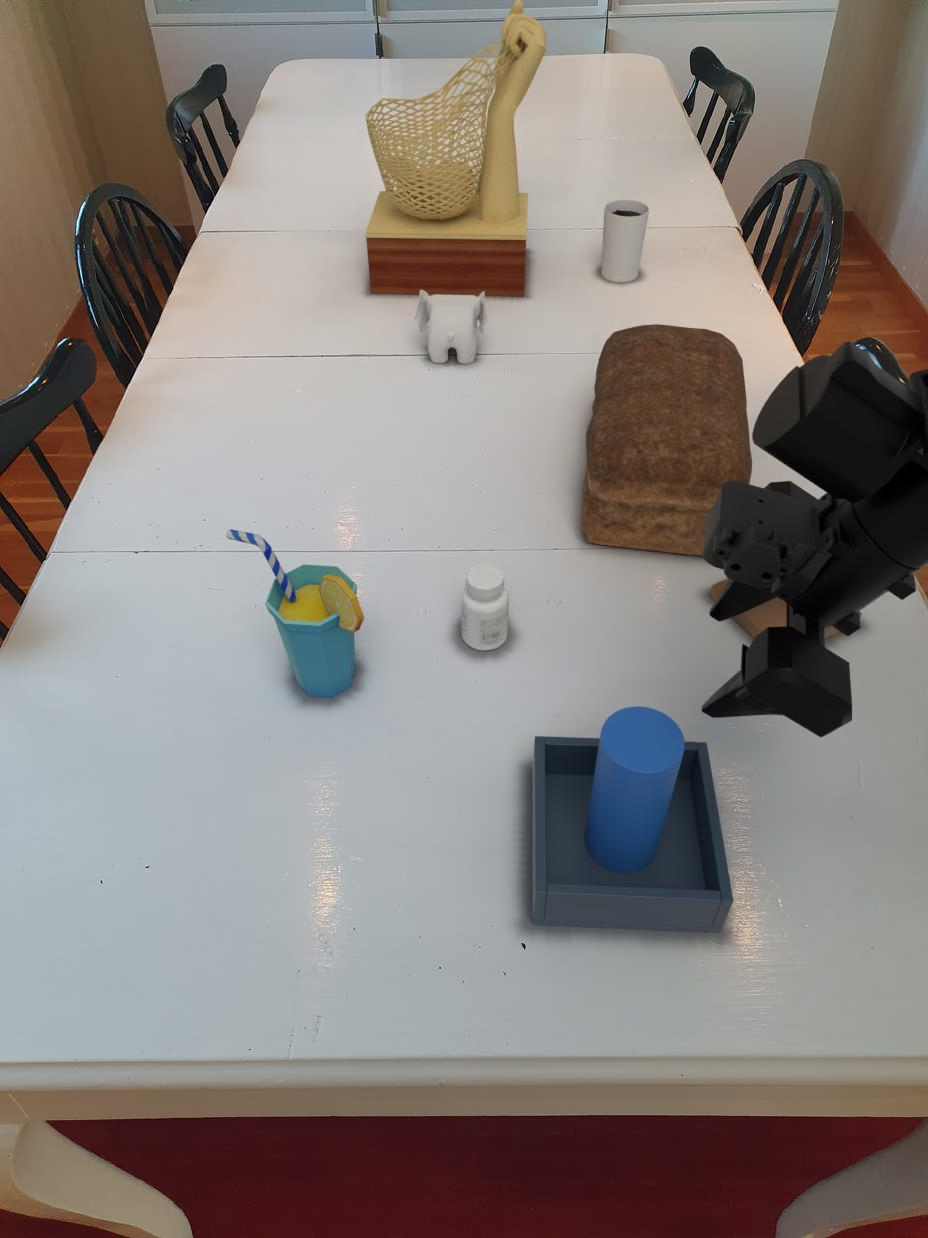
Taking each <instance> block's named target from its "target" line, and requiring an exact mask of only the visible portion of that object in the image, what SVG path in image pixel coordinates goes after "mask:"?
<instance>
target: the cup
mask: <svg viewBox="0 0 928 1238" xmlns="http://www.w3.org/2000/svg"><path fill="white" fill-rule="evenodd" d="M225 534H226V538H227V539H229V540H230V541H231V540H233V541H235V542H241V543H245V544H250V545H254V546H256V547H257V548H259V550H261V552H262V554H263V556H264V558H265V559H266V561H267V564H268V565H269V567H270V569H271V571H272V573H273V575H274V576H275V578H274V579H273V581H272V584H271V587H270V590H269V593H268V595H267V597H266V601H265V603H264V605H265V606H266V610H267V612H268V613H269V614H270V615H271V616H272V617H273V619H274V621H275V624H276V627H277V631H278V633H279V636H280V638H281V641H282V644H283V648H284V649H285V650H284V651H285V653H286V655H287V658H288V660H289V663H290V666H291V668H292V669H291V670H292V671H293V675H294V677H295V681H296V683H297V684H298V686H300V687H301V689H302V690H303V691H304V692H305V693H306V694H307V695H308V697H312V698H313V697H315V698H328V699H332V698H334V697H336V696H338V695H340V694H341V693H342V692H345V691H346V690H348V689H350V688H351V687H352V683H353V679H354V675H355V671H356V665H355V663H356V661H355V660H356V659H355V658H356V657H355V655H356V654H355V633H357V632H358V631H359V630H360V629H361V627H362V625H363V622H364V619H365V616H364V613H363V610H362V607H361V604H360V601H359V598H358V596H357V595H358V594H357V593H358V584H357V583H356V581H353V579H351V577H349V576H348V575H347V574H346V573H345V572H344V571H343V570H342V569H341V568H340V567H339V566H335V565H321V564H319V565H317V564H302V565H299V566H298V567H296V568H294V569H291V570H290V571H288V572H286V573H285V571H284V569H283V567H282V565H281V563H280V561H279V559H278V557H277V556H276V554H275V552H274V550H273V548H272V546H271V545H270V544H269V543H268V541H267V540H266V539H265V538H263V536H261V535H260V534H257V533H254V532H253V533H252V532H246V531H242V530H237V529H231V528H230V529H227V531H226V533H225Z"/></svg>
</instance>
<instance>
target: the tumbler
mask: <svg viewBox="0 0 928 1238" xmlns="http://www.w3.org/2000/svg"><path fill="white" fill-rule="evenodd" d="M599 738H600V741H599V747H598V753H597V760H596V766H595V772H594V779H593V785H592V791H591V797H590V804H589V810H588V816H587V823H586V829H585V845H586V848H587V850H588V852H589V854H590V855H591V857H592V858H593V859H594V860H595V861H596V862H597V863H598V864H599V865H601V866H602V867H604V868H606V869H608V870H610V871H613V872H618V873H632V872H636V871H639V870H641V869H643V868H645V867H646V866H648V865H649V864H650V863H651V862H652V860H653V859H654V857H655V855H656V852H657V849H658V845H659V841H660V838H661V834H662V830H663V827H664V823H665V819H666V815H667V812H668V808H669V804H670V801H671V797H672V793H673V790H674V786H675V782H676V779H677V775H678V771H679V768H680V764H681V760H682V757H683V753H684V748H685V741H686V740H685V736H684V734H683V732H682V730H681V728H680V726H679V725H678V723H677V722H676V721H675V720H674V719H672V718H671V717H670V716H669V715H667V714H665V713H664V712H662V711H660V710H658V709H654V708H652V707H647V706H628V707H624V708H621V709H618V710H616V711H615V712H613V713H612V714H610V715H609V716H608V717H607V718H606V720H605V721H604V723H603V724H602V727H601V730H600V735H599Z"/></svg>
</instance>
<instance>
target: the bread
mask: <svg viewBox="0 0 928 1238" xmlns="http://www.w3.org/2000/svg"><path fill="white" fill-rule="evenodd" d="M599 355H600V356H599V358H598V362H597V365H596V371H595V380H594V386H593V389H594V390H593V391H594V399H593V403H592V405H591V408H592V416H591V418H590V420H589V424H588V426H587V430H586V432H585V445H586V447H585V448H586V450H585V451H586V466H585V471H584V473H585V474H584V478H583V482H582V494H581V495H582V496H581V519H580V527H581V530H582V531H583V533H584V534H585V536H586V540H587V543H590V544H596V545H600V546H601V545H602V546H609V547H618V548H628V549H636V550H637V549H638V550H646V551H655V552H663V553H671V554H678V555H689V556H703V555H702V549H703V545H704V537H705V522H706V520H707V518H708V515H709V513H710V511H711V509H712V507H713V505H714V503H715V500H716V498H717V496H718V494H719V492H720V490H721V488H722V485H723V484H724V483H725V482H727V481H739V482H743V483H746V484H750V483H751V478H752V472H753V458H752V457H753V456H752V452H751V451H752V450H751V441H750V439H751V437H750V427H749V418H748V411H747V409H748V408H747V405H748V402H747V401H748V399H747V390H746V389H747V388H746V381H745V372H744V362H743V361H744V360H743V358H742V356H741V354H740V352H739V351H738V348H737V346H736V344H735V343H734V342H733V341H731V340H730V338H728V337H727V336H725V335H724V334H723V333H721V332H717V331H714V330H710V329H707V328H696V327H687V326H679V325H670V324H659V323H656V324H654V323H653V324H642V325H641V324H640V325H636V326H632V327H627V328H624V329H623V328H622V329H620V330H617V331H616V330H615V331H613V332H612V333H611V335H609V337H608V338H607V339H606V340H605V342H604V344H603V346H602V348H601V351H600V354H599ZM750 485H751V484H750Z"/></svg>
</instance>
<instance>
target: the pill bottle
mask: <svg viewBox="0 0 928 1238" xmlns="http://www.w3.org/2000/svg"><path fill="white" fill-rule="evenodd" d="M509 605H510V596H509V593H508V590H507V589H506V587H505V574H504V571H503V570H502V569H501V568H500V567H499V566H497V565H495V564H490V563H479V564H475V565H473V566H471V567H470V568H469V569H468V570H467V572H466V575H465V587H464V588H463V590H462V591H461V596H460V615H461V616H460V617H461V619H460V621H461V623H460V624H461V638H462V639H463V642H464V643H465V644H466V645H467V646H469V647H470V648H472V649H474V650H478V651H491V650H495V649H497V648H499V647H501V646H502V645H503V644H504V643H505V642H506V640H507V638H508V633H509V632H508V630H509Z"/></svg>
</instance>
